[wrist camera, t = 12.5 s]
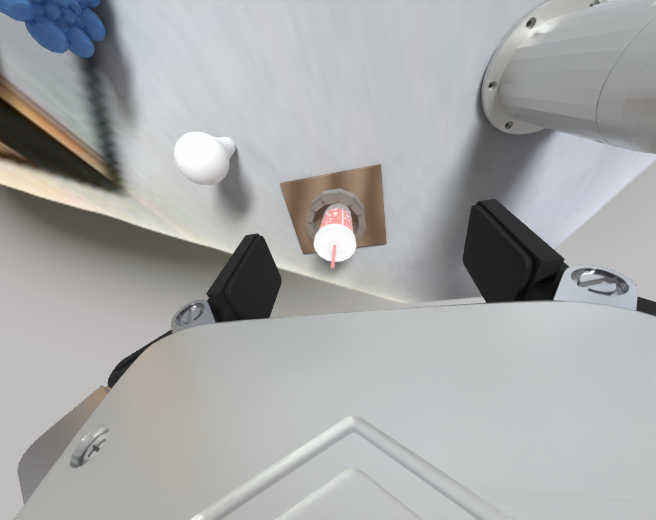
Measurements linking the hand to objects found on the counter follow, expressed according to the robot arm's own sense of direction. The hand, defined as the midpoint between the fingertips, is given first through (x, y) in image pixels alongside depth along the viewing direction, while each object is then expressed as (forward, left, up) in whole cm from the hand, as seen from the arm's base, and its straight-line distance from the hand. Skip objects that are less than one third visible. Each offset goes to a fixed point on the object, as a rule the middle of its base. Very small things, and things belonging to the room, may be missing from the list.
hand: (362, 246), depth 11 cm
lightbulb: (+19, -2, -28) cm, 34 cm away
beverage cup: (+5, +12, -28) cm, 31 cm away
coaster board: (+5, +12, -28) cm, 31 cm away
